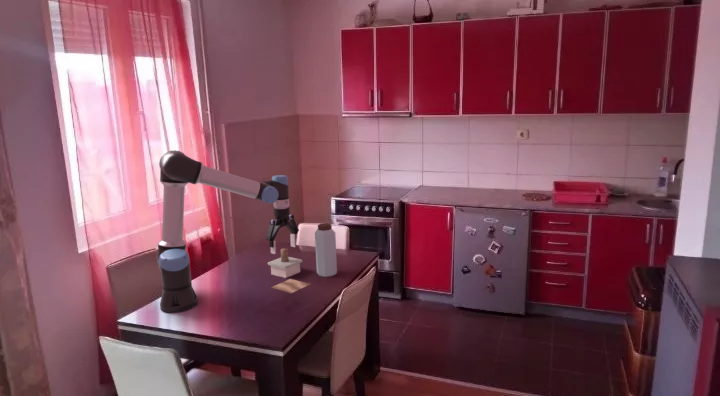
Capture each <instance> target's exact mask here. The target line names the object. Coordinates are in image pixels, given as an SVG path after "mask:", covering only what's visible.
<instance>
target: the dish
mask: <svg viewBox="0 0 720 396" xmlns="http://www.w3.org/2000/svg"><path fill="white" fill-rule="evenodd" d="M299 273H301V263H299V264H297V265H294V266H292V267H289V268H287V269H283V268H278V267H274V266H270V275H272V276H275V277H280V278H284V279H287V278H290V277H292V276H294V275H297V274H299Z"/></svg>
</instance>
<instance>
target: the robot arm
mask: <svg viewBox="0 0 720 396" xmlns="http://www.w3.org/2000/svg"><path fill="white" fill-rule="evenodd" d="M158 164H159V168H160V177H159V178H160V179H159V183H160V184H162V185H163V195H162V197H163V200H162V223H161V225H162V226H161V227H162V229H161V232H162V233H161V240H159V241H158V243H157V253H156V258H155V260H156V264H157V266H158V268H159V271H160V276H161V277H160V278H161V285H162V292H161V298H160V302H159V306H160V310H161V311H162V312H164V313H181V312H184V311H188V310H191V309H193V308H195V307H196V306H197V305H198V304H199V303H198V302H199V300H198V299H199V298H198V296H197V293H196V291H195V289H194V288H193V283H192V274H191V264H190V261H191V260H190V255H189V252H188V251H187V242H186V241H185V240H184V236H183V235H184V214H185V213H184V211H185V210H184V209H185V190H186V186H187V185H188V184H191V185H192V184H193V185H197V184H201V185H205V186H209V187H211V188H215V189H220V190H223V191H226V192H230V193H233V194H237V195H240V196H243V197H247V198H249V199H255V200H259V201H260V202H261V201H262V202H264V203H265V204H270V205H271V204H273V207H274V208H273V215H274V219H269V226H268V230H267V233H266V237H265V240H266V241H269V242H268V243H269V248H270V254H272V255H276V254H277V250H276V249H277V247H276V240H275V238H276V237H277V234H278V233H279V231H280V229H281V228H282V227H283V228H284V227H286V228H287V229H288V231H289V232H290V235H289V237H290V238H289V239H290V247H292V248H296V247H297V244H296V243H297V242H296V241H297V234H298V233H299V231H300V229H299V226H298V225H297V222H296V221H295V216H294V214H291V212H290V211H291V210H290V189H289V187H290V186H289V183H290V182H289V178H288V176H287V175H285V174H276V175H273V176H272V177H271V179H270V180H262V181H261V180H260V181H256V180H253V179H251V178H246V177H243V176H239V175H236V174H233V173H229V172H226V171H224V170H219V169H217V168H213V167H209V166H206V165H204V164H203V162H202V161H199V160H195V159H193V158H191V157H190V156H188V155H186V154H185V153H184V152H182V151H179V150H169V151H167V152H165V153H164V154H162V156H161V157H160V159H159V163H158Z"/></svg>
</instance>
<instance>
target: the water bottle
mask: <svg viewBox="0 0 720 396" xmlns="http://www.w3.org/2000/svg"><path fill="white" fill-rule="evenodd" d="M336 238H337V237H336V232H335V230H334V229H333V228H332V224H331V223H327V222H324V223H319V224H317V229H316V230H315V232H314V244H315V245H314V246H315V261H316V262H315V264H316V274H317V275H318V276H319V277H324V278H328V277H333V276H336V275H337V273H338V267H337V266H338V263H337V262H338V261H337V242H336V241H337V239H336Z"/></svg>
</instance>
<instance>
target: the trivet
mask: <svg viewBox="0 0 720 396" xmlns="http://www.w3.org/2000/svg"><path fill="white" fill-rule="evenodd" d="M310 285H311V283H310V282H305V281H300V280H296V279H293V278H289V279H286V280H285V281H282V282H280V283H278V284H276V285H273V286H271V287H270V288H271V289H275V290H279V291H282V292H285V293H288V294H293V293H295V292H297V291H300V290H302V289H304V288H305V287H308V286H310Z"/></svg>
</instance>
